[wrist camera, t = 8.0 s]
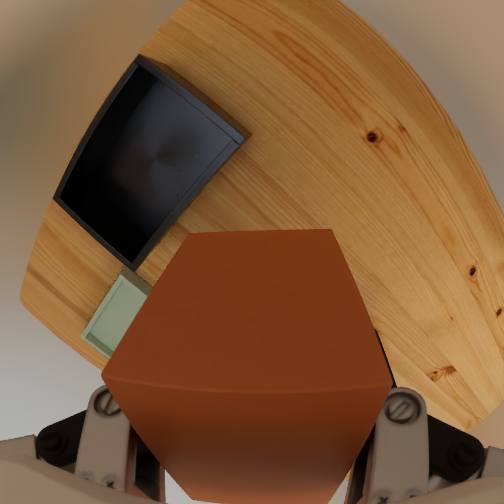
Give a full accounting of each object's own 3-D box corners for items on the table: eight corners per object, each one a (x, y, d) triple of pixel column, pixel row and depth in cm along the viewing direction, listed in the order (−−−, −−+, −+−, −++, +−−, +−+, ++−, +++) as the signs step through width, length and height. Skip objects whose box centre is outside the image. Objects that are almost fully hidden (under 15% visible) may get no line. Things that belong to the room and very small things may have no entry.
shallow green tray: (127, 266, 37) (120, 274, 35) (193, 318, 40) (189, 328, 38) (85, 329, 43) (80, 336, 42) (138, 368, 46) (134, 377, 44)
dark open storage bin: (166, 64, 26) (139, 53, 19) (252, 134, 29) (246, 138, 23) (85, 182, 32) (52, 198, 26) (156, 245, 35) (133, 273, 29)
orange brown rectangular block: (189, 232, 9) (98, 375, 4) (331, 228, 9) (394, 382, 4) (216, 378, 12) (191, 499, 7) (318, 378, 12) (327, 504, 7)
